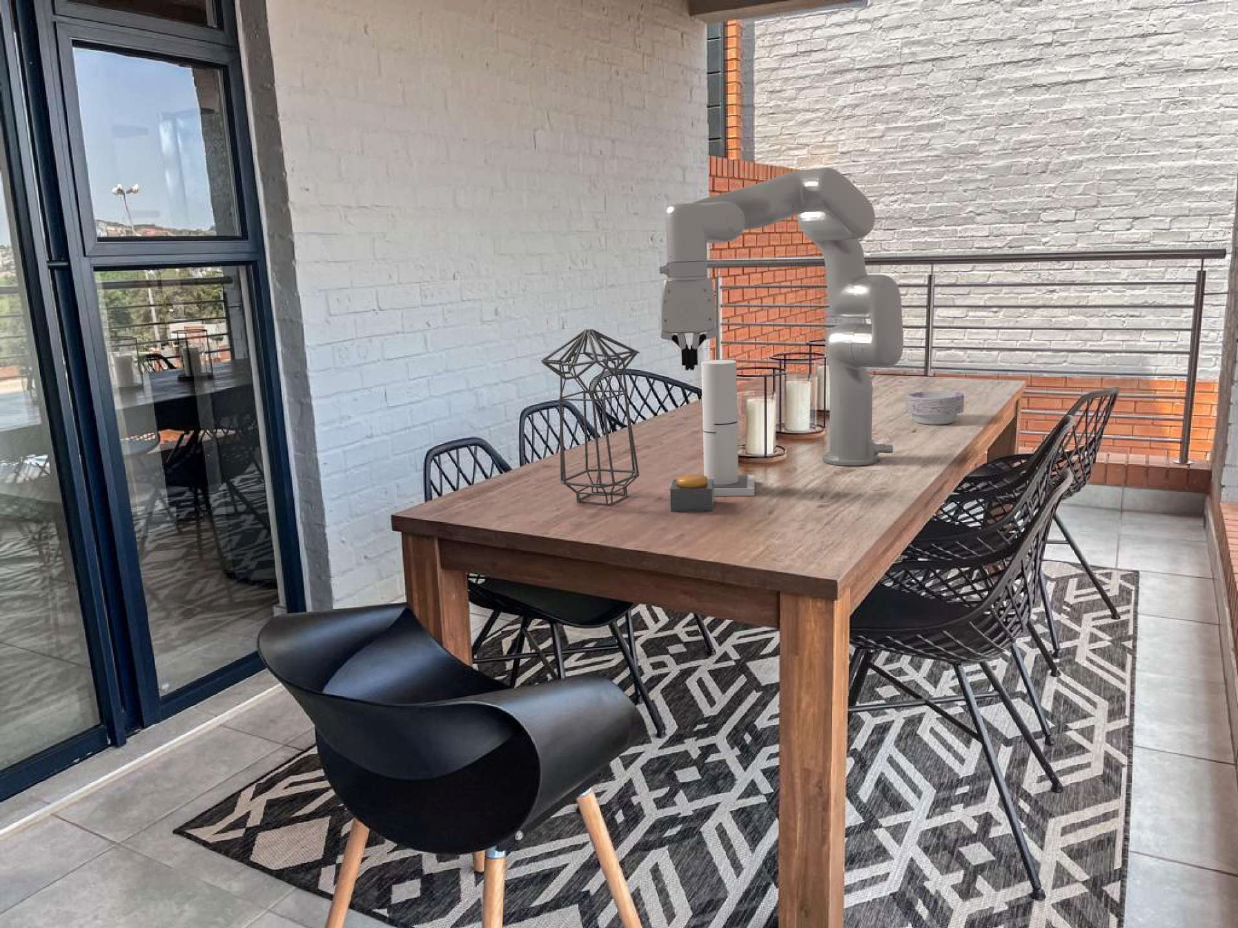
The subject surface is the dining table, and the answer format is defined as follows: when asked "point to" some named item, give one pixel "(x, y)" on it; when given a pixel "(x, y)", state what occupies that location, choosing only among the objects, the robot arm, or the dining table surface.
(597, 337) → the geometric lantern
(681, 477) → the button
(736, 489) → the pallet
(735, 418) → the cylindrical container
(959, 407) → the paper bowls
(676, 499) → the button housing
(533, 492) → the dining table surface
